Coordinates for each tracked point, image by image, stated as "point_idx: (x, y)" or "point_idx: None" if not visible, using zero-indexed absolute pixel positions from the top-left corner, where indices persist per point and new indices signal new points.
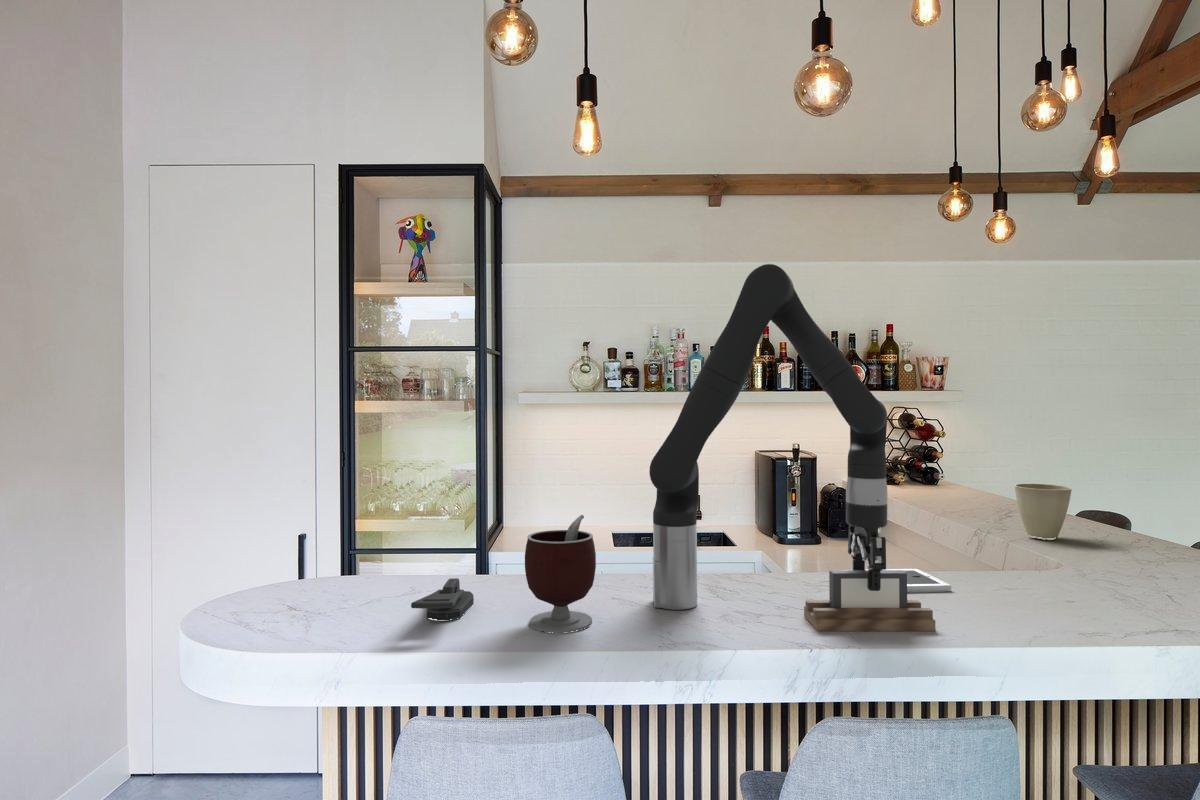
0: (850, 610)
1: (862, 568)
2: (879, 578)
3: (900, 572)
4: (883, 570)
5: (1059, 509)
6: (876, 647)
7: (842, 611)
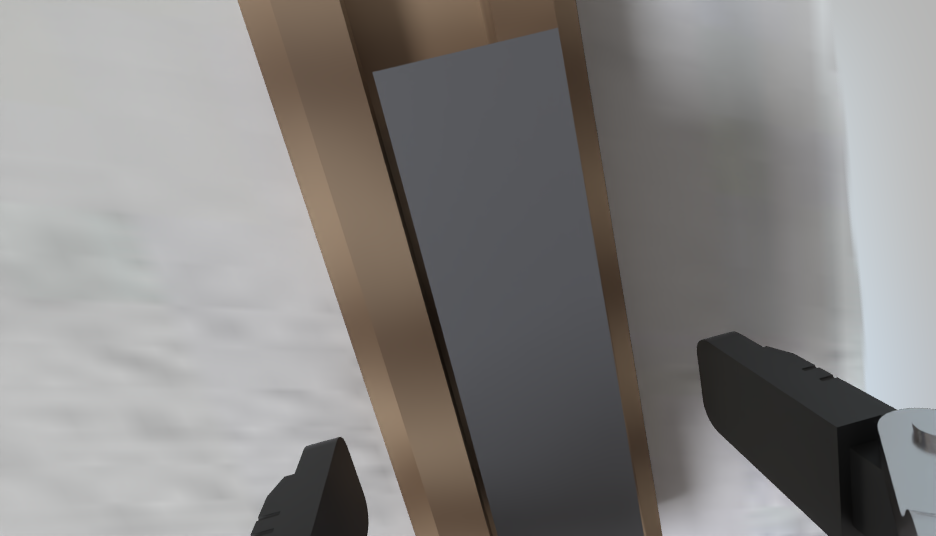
0: (628, 434)
1: (327, 521)
2: (858, 390)
3: (528, 116)
4: (458, 321)
5: None
6: (824, 288)
7: (634, 469)
